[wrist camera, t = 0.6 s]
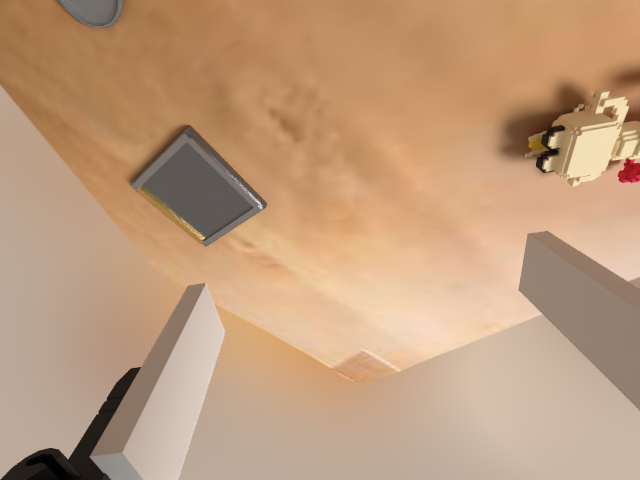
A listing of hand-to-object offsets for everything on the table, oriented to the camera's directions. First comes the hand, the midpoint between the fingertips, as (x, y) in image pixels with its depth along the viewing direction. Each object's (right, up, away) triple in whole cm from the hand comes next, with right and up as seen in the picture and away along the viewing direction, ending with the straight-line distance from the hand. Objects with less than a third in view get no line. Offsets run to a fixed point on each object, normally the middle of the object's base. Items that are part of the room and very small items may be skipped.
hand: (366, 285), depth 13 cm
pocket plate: (-18, +8, +29) cm, 36 cm away
